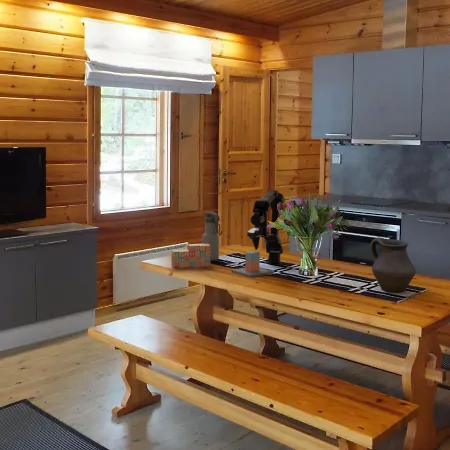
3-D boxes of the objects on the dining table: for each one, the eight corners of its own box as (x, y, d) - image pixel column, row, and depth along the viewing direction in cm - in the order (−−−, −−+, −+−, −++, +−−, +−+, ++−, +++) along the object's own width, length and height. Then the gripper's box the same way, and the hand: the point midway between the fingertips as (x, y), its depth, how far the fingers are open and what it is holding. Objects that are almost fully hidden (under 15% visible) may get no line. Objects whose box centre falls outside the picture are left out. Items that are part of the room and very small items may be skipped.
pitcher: (407, 297, 294) (409, 244, 291) (361, 291, 306) (363, 239, 302) (419, 288, 311) (422, 238, 308) (376, 282, 323) (378, 234, 319)
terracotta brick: (253, 269, 348) (254, 260, 347) (259, 270, 345) (259, 261, 344) (245, 270, 344) (245, 261, 344) (250, 271, 341) (250, 262, 340)
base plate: (254, 268, 356) (254, 266, 356) (273, 273, 343) (273, 271, 343) (231, 272, 346) (231, 269, 346) (250, 277, 334) (250, 275, 333)
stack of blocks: (173, 268, 355) (173, 246, 354) (171, 266, 361) (171, 244, 360) (210, 266, 361) (210, 245, 359) (208, 264, 367) (208, 243, 365)
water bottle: (222, 258, 382) (222, 212, 378) (213, 261, 374) (213, 214, 370) (208, 257, 388) (208, 211, 384) (199, 259, 379) (199, 212, 375)
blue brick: (254, 260, 347) (254, 251, 347) (259, 261, 344) (259, 252, 343) (245, 261, 344) (245, 252, 343) (251, 262, 340) (251, 253, 340)
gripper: (239, 221, 347) (239, 250, 350) (261, 226, 333) (261, 255, 335) (255, 220, 354) (255, 247, 356) (277, 224, 339) (277, 253, 342)
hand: (261, 251), depth 347 cm, fingers open, 9 cm apart
